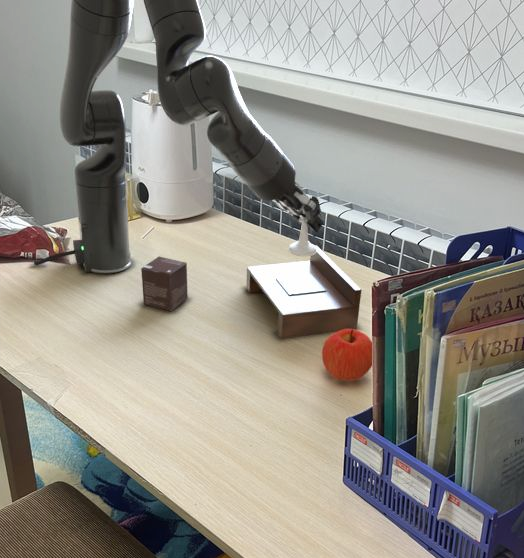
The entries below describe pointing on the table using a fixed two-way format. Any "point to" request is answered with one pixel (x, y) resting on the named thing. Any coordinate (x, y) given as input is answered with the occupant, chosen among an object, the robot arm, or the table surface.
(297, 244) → the chess piece
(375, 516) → the table surface
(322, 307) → the shelf
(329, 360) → the apple
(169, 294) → the box
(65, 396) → the table surface
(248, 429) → the table surface
